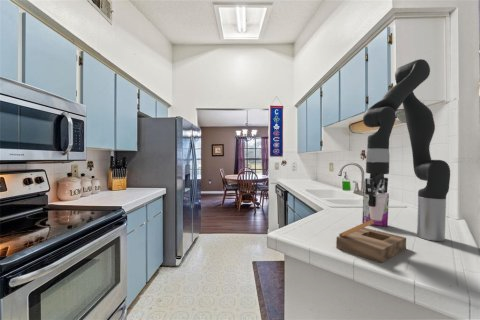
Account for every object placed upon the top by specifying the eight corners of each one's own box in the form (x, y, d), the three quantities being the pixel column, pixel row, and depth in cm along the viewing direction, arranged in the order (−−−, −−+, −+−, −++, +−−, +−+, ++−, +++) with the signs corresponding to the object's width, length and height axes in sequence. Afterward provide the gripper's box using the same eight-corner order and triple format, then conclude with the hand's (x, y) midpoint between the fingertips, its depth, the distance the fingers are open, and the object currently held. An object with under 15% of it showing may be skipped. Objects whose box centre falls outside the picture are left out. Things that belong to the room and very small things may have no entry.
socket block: (364, 237, 98) (364, 227, 98) (406, 248, 86) (406, 237, 86) (336, 247, 85) (336, 236, 85) (380, 263, 73) (381, 250, 73)
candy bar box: (362, 223, 119) (363, 191, 119) (363, 221, 123) (363, 190, 123) (388, 227, 113) (388, 193, 113) (388, 225, 117) (388, 192, 117)
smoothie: (362, 217, 90) (364, 181, 90) (378, 217, 91) (379, 181, 91) (373, 221, 84) (374, 182, 84) (390, 221, 84) (391, 183, 84)
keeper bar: (344, 235, 87) (342, 232, 87) (374, 223, 78) (372, 219, 79) (340, 237, 85) (338, 234, 85) (370, 224, 77) (368, 220, 77)
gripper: (375, 161, 95) (374, 202, 95) (358, 160, 86) (356, 205, 86) (396, 161, 89) (395, 205, 89) (379, 161, 80) (378, 209, 80)
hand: (376, 205), depth 87 cm, fingers closed on smoothie, 6 cm apart
